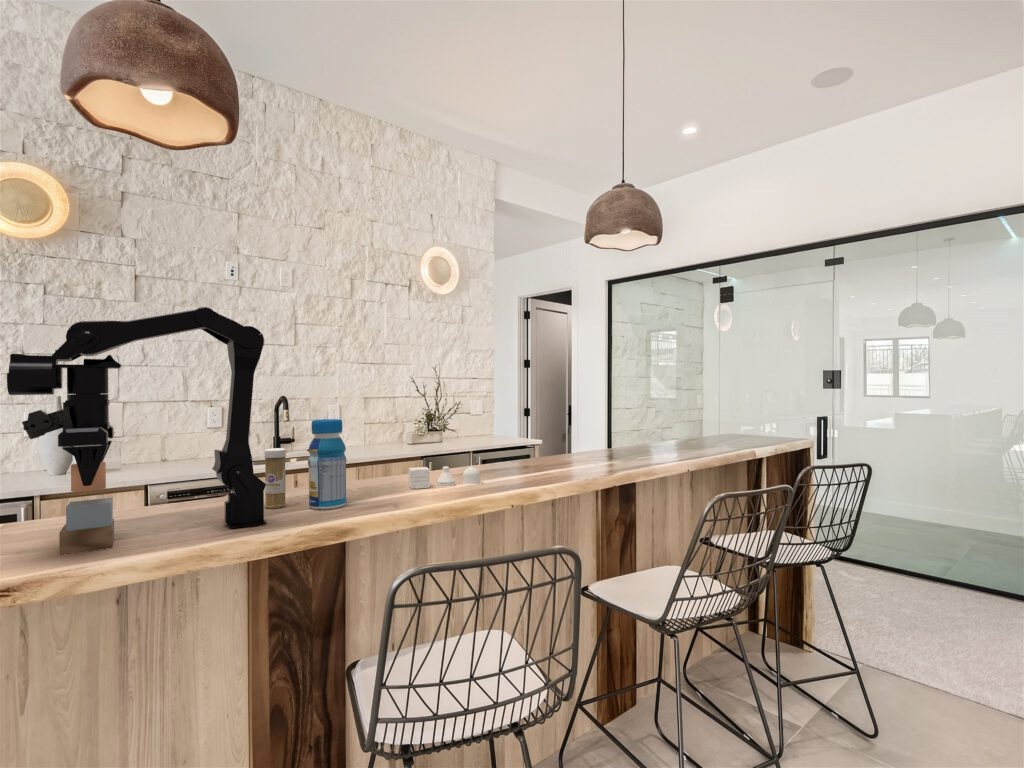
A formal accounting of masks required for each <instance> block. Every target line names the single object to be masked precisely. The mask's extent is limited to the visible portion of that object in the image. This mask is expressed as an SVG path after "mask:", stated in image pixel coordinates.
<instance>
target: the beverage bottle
mask: <svg viewBox="0 0 1024 768" xmlns="http://www.w3.org/2000/svg"><path fill="white" fill-rule="evenodd" d="M340 434H341V435H342V434H343V420H342V419H340V418H325V419H324V418H323V419H313V420H311V435H313V436H314V437H313V439H312V440H311V442H310V444H309V446H308V449H307V450H308V453H309V457H308V459H307V465H308V498H309V499H308V506H309V508H311V509H312V510H317V509H321V511H324V509H325V511H326V510H334V509H340V508H342V507H344V506H346V504H347V462H348V460H347V456H346V455H345V454H346V453H345V452H346V449H347V448H346V447H347V446H346V445H345V442H344V440H343V439H342V438H341V436H340Z"/></svg>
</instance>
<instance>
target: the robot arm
mask: <svg viewBox="0 0 1024 768" xmlns="http://www.w3.org/2000/svg"><path fill="white" fill-rule="evenodd" d="M197 330H201V331H203V332H205V333H207V334H208V335H210V336H212V337H213V338H214V339H216V340H218V341H219V342H221V343H222V344H225V345H226V346H227V347H226V348H227V357H228V361H229V366H230V371H231V375H230V377H231V378H230V389H229V399H228V401H229V402H228V411H227V413H228V414H227V421H226V422H227V424H226V434H225V435H226V436H225V442H224V444H223V446H222V449H221V450H220V449H214V450H213V452H214V465H213V466H212V468H211V469H212V471H214V472H215V475H216V477H217V479H218V481H219V482H221V484H223V485H225V486H226V487H227V489H228V491H229V493H227V500H225V501H224V502H223V503H224V505H223V506H224V510H223V511H224V514H223V515H224V517H223V518H224V524H226V525H227V526H228V528H229V529H235V528H236V529H237V528H245V527H251V526H258V525H265V524H266V523H267V522H266V520H265V501H264V500H265V498H264V493H265V486H266V484H265V481H263V480H261V479H260V478H259V477H258V476H257V475H255V474H254V464H253V457H252V451H251V448H250V441H249V439H250V438H249V437H250V427H251V426H250V425H251V416H252V414H251V413H252V404H253V391H254V390H253V389H254V388H253V387H254V376H255V372H256V369H257V366H258V365H259V361H260V358H261V355H262V351H263V348H264V345H265V336H264V335H263V333H262V332H261V331H260V330H259V329H257V328H256V327H254V326H250V325H245V326H244V325H242V324H240V323H239V322H237V321H235V320H233V319H231V318H228V317H226V316H225V315H222V314H220V313H218V312H216V311H214V310H213V309H212V308H210V307H207V306H200V307H198V308H195V309H191V310H184V311H179V312H177V311H176V312H174V313H173V312H171V313H165V314H162V315H161V314H160V315H156V316H150V317H142V318H137V319H132V320H81V321H78V322H75V323H73V324H72V325H71V326H69V328H68V329H67V331H66V335H65V341H64V343H62V344H61V345H60V346H59V348H58V349H54V351H55V352H53V353H52V354H51V355H35V354H34V355H32V354H31V355H29V354H23V353H11V354H10V355H9V365H8V372H7V373H6V388H7V393H8V395H9V396H35V395H37V396H38V395H41V396H43V395H44V396H46V395H47V396H48V395H55V390H60V389H63V369H66V395H67V396H66V400H65V401H64V402H63V403H62V409H60V410H56V411H54V412H50V413H46V411H44V410H42V409H39V410H36V411H32V412H29V413H28V416H27V420H23V421H22V422H21V424H22V426H23V427H22V428H23V430H24V431H25V432H26V434H27V436H28V438H29V439H30V440H34V439H36V438H39V437H42V436H45V435H46V434H47V433H51V432H54V431H57V430H59V429H62V431H61V432H60V433H59V434H57V448H58V447H61V448H62V450H63V451H65V452H67V453H69V454H70V455H71V456H73V457H74V459H75V464H77V467H78V470H79V473H80V477H81V480H82V484H83V486H90V485H91V484H92V482H93V480H94V478H95V475H96V473H97V471H98V468H99V466H100V464H101V462H104V460H105V458H106V455H107V454H108V451H109V449H110V447H111V445H112V442H113V440H109V439H114V435H115V433H114V429H115V428H114V427H113V426H112V425H111V423H110V419H109V418H110V417H109V411H110V410H109V409H110V407H109V406H110V399H109V369H111V370H112V369H113V370H114V369H116V370H118V369H121V367H122V365H121V364H120V363H119V362H118V361H116V360H115V359H114V357H113V356H112V355H111V354H108V355H107V356H106V357H105V358H83V364H59V362H68V363H69V362H72V361H74V360H77V359H78V358H80V357H82V356H83V357H95V356H98V355H101V354H104V353H106V352H110V351H112V350H115V349H117V348H121V347H122V346H123V347H124V346H125V345H127V344H131V343H134V342H138V341H144V340H147V339H148V340H149V339H153V338H154V339H155V338H160V337H164V336H170V335H175V334H176V335H177V334H180V333H187V332H191V331H197Z"/></svg>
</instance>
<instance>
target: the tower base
mask: <svg viewBox="0 0 1024 768" xmlns="http://www.w3.org/2000/svg"><path fill="white" fill-rule="evenodd" d="M58 535H59V541H58V542H59V543H58V544H59V546H58V547H59V549H58V551H59V555H60V556H65V555H64V554H67V555H72V554H71V553H74V554H78V552H79V554H80V552H82V553H87V552H86V551H89V552H94V551H93V550H96V551H100V549H103V550H107V549H106V548H110V549H113V547H112V546H114V543H113V542H115V518H113V520H112V524H111V526H107V527H99V528H91V529H83V530H75V531H67V532H66V523H65V524H63V526H62V528H61V529H60V531H59V534H58Z"/></svg>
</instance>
